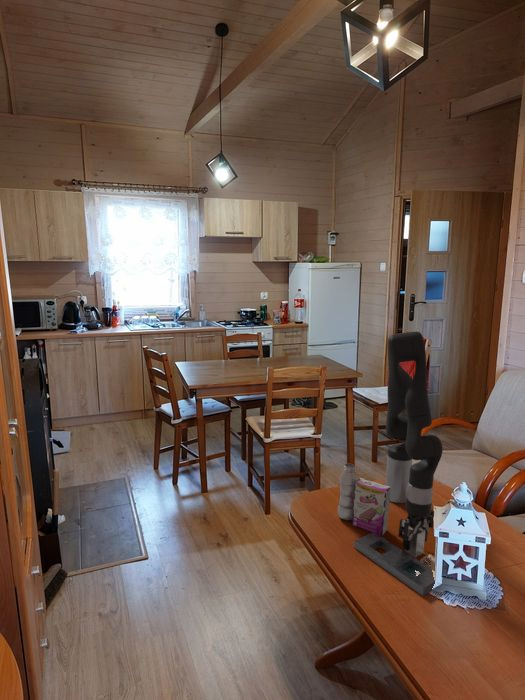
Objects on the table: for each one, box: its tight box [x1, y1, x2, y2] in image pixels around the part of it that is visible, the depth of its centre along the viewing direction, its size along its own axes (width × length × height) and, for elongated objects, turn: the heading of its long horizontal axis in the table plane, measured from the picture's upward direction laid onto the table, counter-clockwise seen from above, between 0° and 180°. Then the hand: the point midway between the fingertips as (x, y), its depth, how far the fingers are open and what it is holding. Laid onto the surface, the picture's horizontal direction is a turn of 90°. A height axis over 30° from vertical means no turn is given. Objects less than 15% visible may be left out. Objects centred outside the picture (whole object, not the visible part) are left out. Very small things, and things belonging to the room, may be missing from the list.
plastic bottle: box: [337, 463, 359, 521], centre depth 163 cm, size 6×7×20 cm
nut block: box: [404, 526, 426, 559], centre depth 145 cm, size 4×4×8 cm
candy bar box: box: [351, 477, 391, 537], centre depth 157 cm, size 11×5×16 cm, turn 56°
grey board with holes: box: [353, 532, 435, 597], centre depth 139 cm, size 9×26×2 cm, turn 34°
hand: (414, 544), depth 146 cm, fingers open, 8 cm apart
